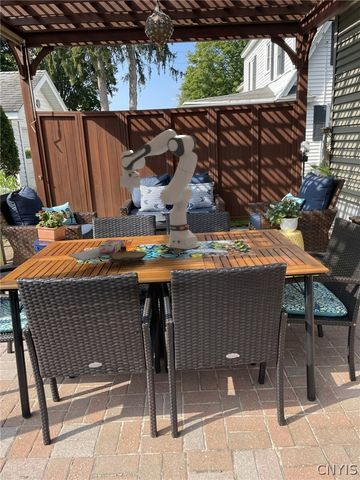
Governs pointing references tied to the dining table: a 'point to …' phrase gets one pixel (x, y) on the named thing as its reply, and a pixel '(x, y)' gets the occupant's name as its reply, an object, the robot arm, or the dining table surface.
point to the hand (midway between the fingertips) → (130, 193)
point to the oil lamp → (126, 255)
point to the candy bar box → (110, 246)
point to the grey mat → (89, 254)
